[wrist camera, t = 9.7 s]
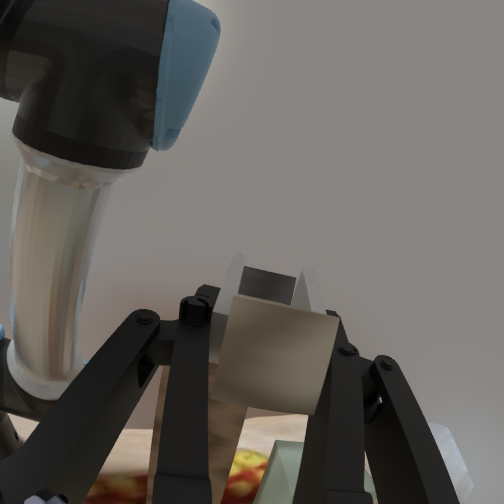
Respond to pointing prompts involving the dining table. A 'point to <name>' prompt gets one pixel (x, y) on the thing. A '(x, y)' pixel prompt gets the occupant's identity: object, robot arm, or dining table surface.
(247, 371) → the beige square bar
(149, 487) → the stand tall
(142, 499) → the dining table surface
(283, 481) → the pale green block
